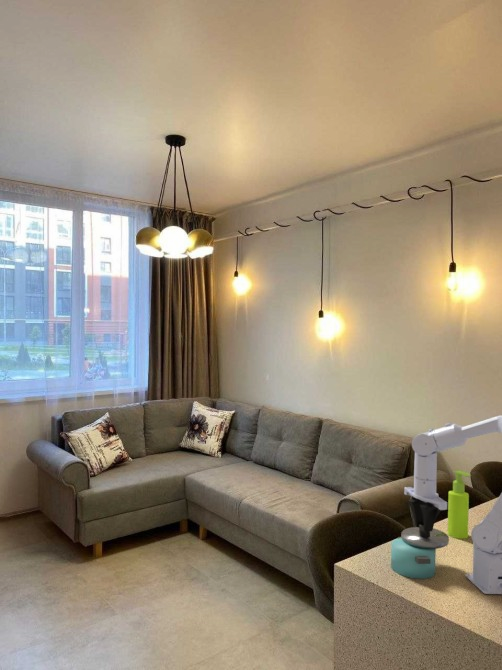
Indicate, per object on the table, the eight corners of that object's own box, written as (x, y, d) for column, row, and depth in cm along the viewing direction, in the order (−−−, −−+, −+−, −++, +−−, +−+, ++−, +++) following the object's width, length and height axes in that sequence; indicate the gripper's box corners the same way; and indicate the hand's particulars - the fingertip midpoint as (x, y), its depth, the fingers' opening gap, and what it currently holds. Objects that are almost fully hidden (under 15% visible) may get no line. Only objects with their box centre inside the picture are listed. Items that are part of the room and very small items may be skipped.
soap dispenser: (460, 541, 152) (461, 474, 152) (443, 533, 158) (444, 469, 159) (474, 538, 154) (476, 473, 155) (457, 531, 160) (459, 468, 161)
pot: (445, 582, 124) (445, 557, 124) (401, 581, 123) (402, 557, 124) (422, 557, 138) (423, 536, 138) (383, 557, 138) (383, 535, 138)
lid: (456, 538, 134) (456, 523, 134) (435, 553, 126) (435, 537, 126) (415, 527, 143) (414, 513, 143) (392, 540, 134) (392, 525, 134)
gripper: (457, 483, 129) (455, 537, 129) (419, 470, 143) (417, 518, 142) (435, 485, 127) (433, 540, 126) (398, 471, 140) (397, 520, 140)
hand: (423, 528), depth 134 cm, fingers closed on lid, 3 cm apart
